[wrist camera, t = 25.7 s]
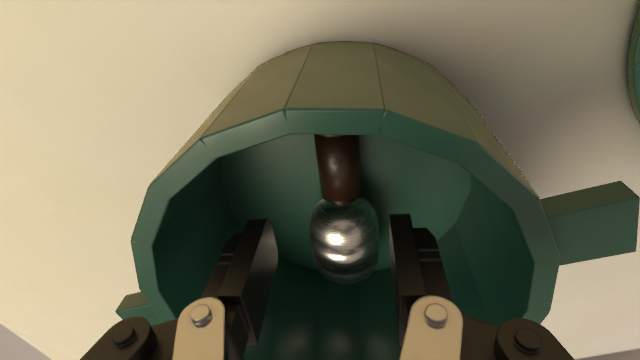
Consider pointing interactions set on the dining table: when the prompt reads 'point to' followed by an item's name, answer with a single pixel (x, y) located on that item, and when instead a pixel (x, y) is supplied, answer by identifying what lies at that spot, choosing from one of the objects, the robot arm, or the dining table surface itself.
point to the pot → (377, 187)
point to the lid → (635, 68)
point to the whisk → (342, 213)
